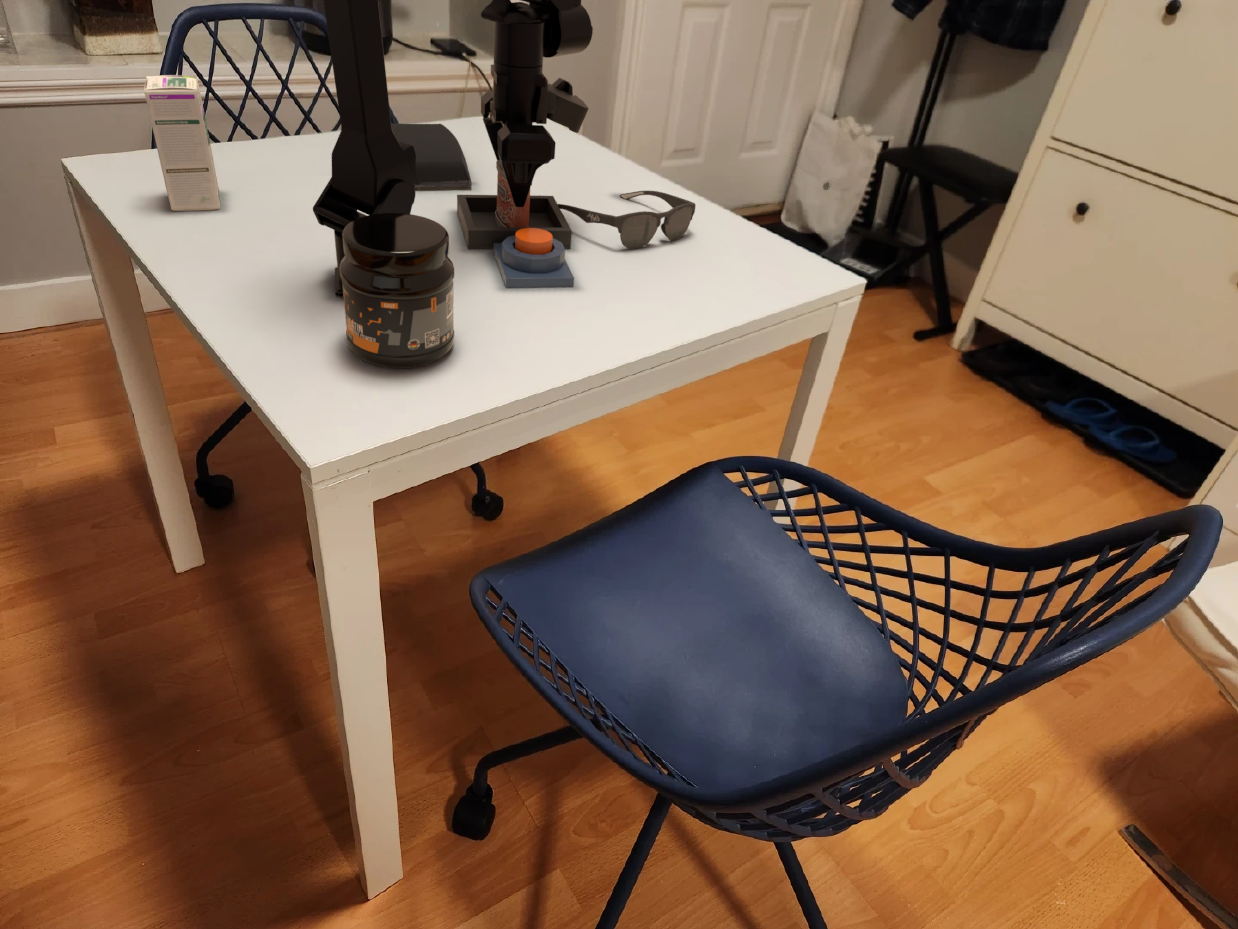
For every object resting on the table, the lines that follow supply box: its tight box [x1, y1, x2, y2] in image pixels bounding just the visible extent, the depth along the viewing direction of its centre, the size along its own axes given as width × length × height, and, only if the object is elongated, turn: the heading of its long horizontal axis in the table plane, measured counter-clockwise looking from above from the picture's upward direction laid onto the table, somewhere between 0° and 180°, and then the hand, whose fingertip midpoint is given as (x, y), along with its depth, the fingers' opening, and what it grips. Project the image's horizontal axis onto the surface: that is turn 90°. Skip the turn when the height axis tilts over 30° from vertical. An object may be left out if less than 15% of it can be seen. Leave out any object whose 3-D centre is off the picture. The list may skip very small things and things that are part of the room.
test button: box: [515, 228, 553, 255], centre depth 102 cm, size 4×4×2 cm
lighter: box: [495, 159, 533, 228], centre depth 110 cm, size 8×3×10 cm, turn 25°
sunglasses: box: [557, 190, 696, 250], centre depth 118 cm, size 16×17×5 cm
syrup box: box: [143, 74, 221, 212], centre depth 105 cm, size 6×6×14 cm
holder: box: [456, 194, 573, 250], centre depth 112 cm, size 12×13×2 cm
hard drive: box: [391, 122, 473, 188], centre depth 127 cm, size 13×19×4 cm
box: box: [492, 235, 575, 289], centre depth 103 cm, size 10×8×3 cm
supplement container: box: [340, 213, 456, 369], centre depth 83 cm, size 10×10×12 cm
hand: (513, 192), depth 110 cm, fingers open, 9 cm apart
